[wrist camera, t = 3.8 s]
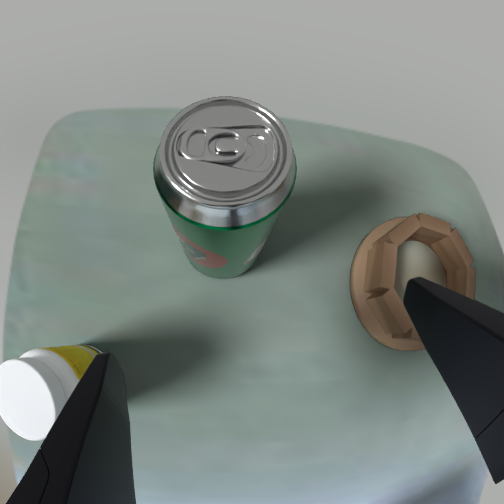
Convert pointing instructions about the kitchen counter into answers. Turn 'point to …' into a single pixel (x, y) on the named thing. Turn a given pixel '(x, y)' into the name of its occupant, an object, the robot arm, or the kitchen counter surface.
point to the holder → (405, 274)
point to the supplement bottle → (40, 387)
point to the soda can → (224, 181)
